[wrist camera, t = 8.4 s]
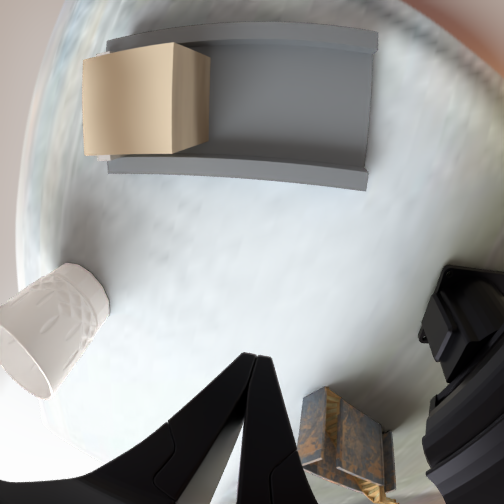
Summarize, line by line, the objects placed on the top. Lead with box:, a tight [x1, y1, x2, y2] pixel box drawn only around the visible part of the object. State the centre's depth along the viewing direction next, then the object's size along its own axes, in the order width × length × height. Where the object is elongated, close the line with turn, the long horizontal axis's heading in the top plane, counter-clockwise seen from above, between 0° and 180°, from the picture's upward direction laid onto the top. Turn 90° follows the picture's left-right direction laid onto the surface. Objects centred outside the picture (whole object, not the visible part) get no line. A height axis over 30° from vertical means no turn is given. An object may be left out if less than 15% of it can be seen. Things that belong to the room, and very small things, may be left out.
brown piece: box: [297, 387, 399, 504], centre depth 22 cm, size 11×3×10 cm, turn 50°
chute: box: [96, 22, 378, 191], centre depth 15 cm, size 15×9×3 cm, turn 88°
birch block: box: [82, 42, 211, 156], centre depth 14 cm, size 5×5×5 cm
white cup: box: [0, 263, 110, 400], centre depth 22 cm, size 8×8×10 cm
